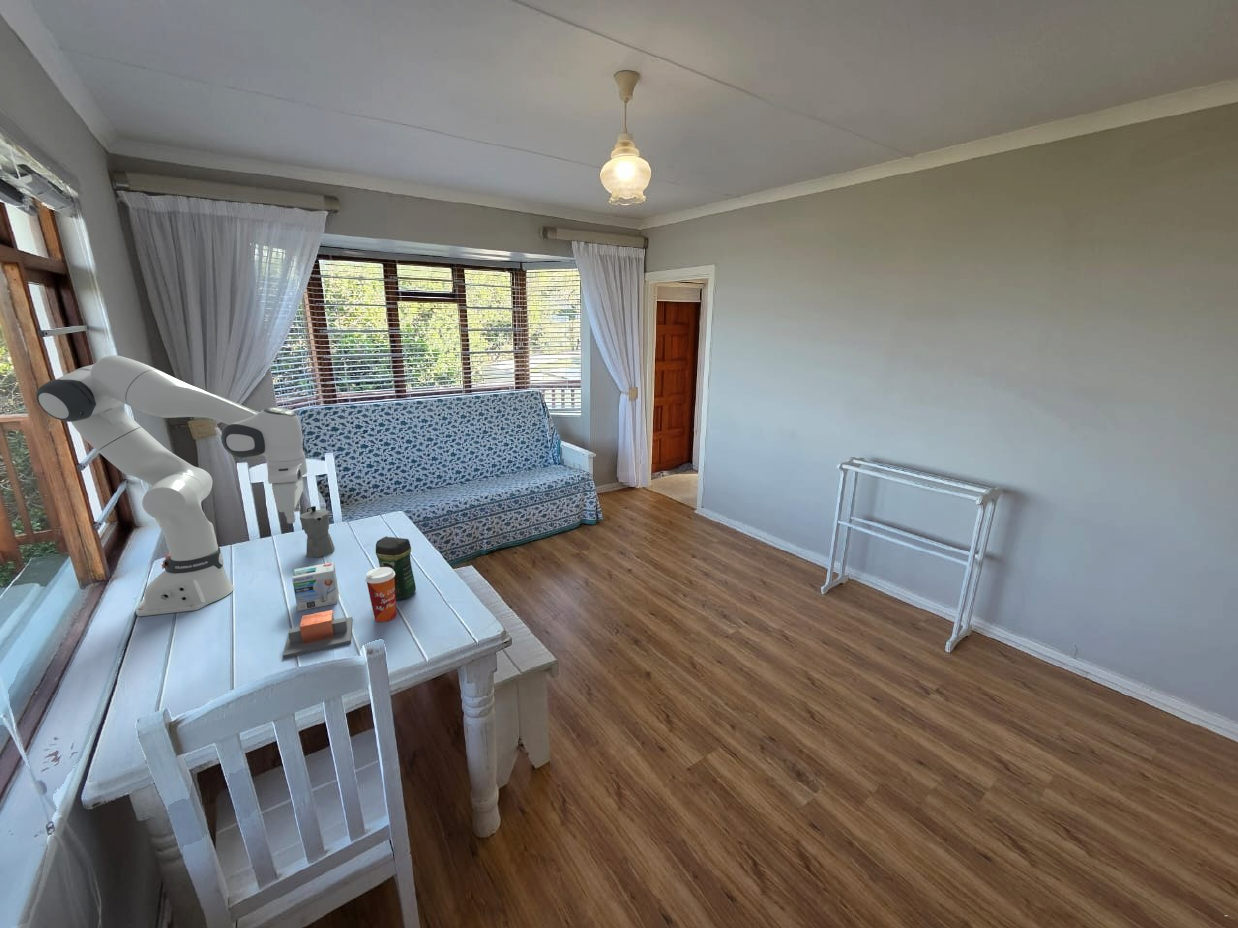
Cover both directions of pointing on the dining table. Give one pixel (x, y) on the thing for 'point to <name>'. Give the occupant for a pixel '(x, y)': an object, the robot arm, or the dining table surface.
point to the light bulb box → (315, 586)
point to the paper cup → (382, 593)
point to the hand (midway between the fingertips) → (294, 516)
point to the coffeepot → (317, 532)
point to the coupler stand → (296, 646)
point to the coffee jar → (397, 564)
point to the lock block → (317, 626)
